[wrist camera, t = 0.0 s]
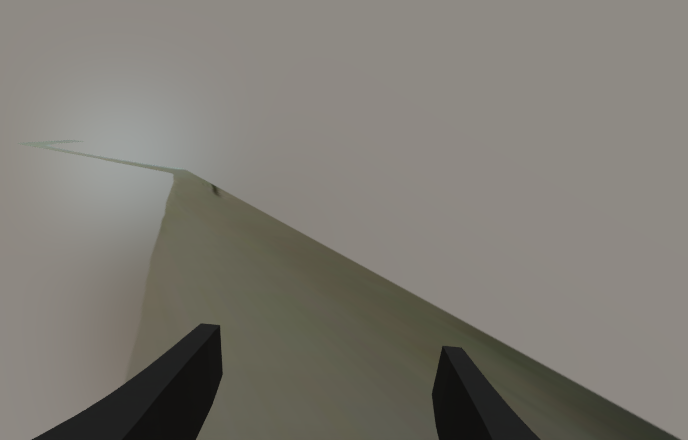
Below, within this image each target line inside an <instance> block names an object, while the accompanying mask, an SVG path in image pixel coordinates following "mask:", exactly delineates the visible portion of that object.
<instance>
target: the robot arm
mask: <svg viewBox="0 0 688 440" xmlns="http://www.w3.org/2000/svg"><path fill="white" fill-rule="evenodd" d="M222 375H223V372H222V354H221V336H220V325H212V324H202V323H201V324H200V325H199V326H198V327H196V328H195V329H194V330H192V331H191V332H190V333H189V334H188V335H186V336H185V337H184V338H183V339H182V340H180V341H179V342H178V343H177V344H176V345H174V346H173V347H172V348H171V349H169V350H168V351H167V352H166V353H165V354H163V355H162V356H161V357H159V358H158V359H157V360H156V361H154V362H153V363H152V364H151V365H149V366H148V367H147V368H146V369H144V370H143V371H142V372H140V373H139V374H137V375H136V376H135V377H133V378H132V379H131V380H129V381H128V382H126V383H125V384H124V385H122V386H121V387H120V388H118V389H117V390H115V391H114V392H112V393H111V394H109V395H108V396H106V397H105V398H103V399H102V400H100V401H98V402H97V403H95V404H94V405H92V406H90V407H89V408H87V409H86V410H84V411H82V412H81V413H79V414H77V415H76V416H74V417H72V418H70V419H68V420H67V421H65V422H63V423H61V424H59V425H58V426H56V427H54V428H52V429H50V430H49V431H47V432H45V433H43V434H41V435H40V436H38V437H36V438H34V439H32V440H196V438H197V436H198V434H199V432H200V430H201V428H202V425H203V423H204V421H205V419H206V417H207V415H208V413H209V411H210V408H211V406H212V404H213V401H214V398H215V395H216V393H217V390H218V387H219V384H220V381H221V378H222ZM432 399H433V407H434V415H435V422H436V428H437V433H438V437H439V440H540V439H539V438H538V437H537V436H536V435H535V434H534V433H533V432H532V431H531V430H530V428H529V427H528V426H527V425H526V424H525V423H524V422H523V421H522V420H521V419H520V418H519V417H518V416H517V415H516V413H515V412H514V411H513V410H512V409H511V408H510V407H509V406H508V404H507V403H506V402H505V401H504V400H503V399H502V397H501V396H500V395H499V394H498V393H497V391H496V390H495V389H494V388H493V387H492V385H491V384H490V383H489V382H488V380H487V379H486V378H485V377H484V375H483V374H482V373H481V372H480V370H479V369H478V368H477V366H476V365H475V364H474V363H473V361H472V360H471V359H470V358H469V356H468V355H467V354H466V352H465V351H464V350H463V349H462V348H460V347H449V346H442V351H441V355H440V360H439V364H438V369H437V373H436V378H435V382H434V387H433V391H432Z"/></svg>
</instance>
